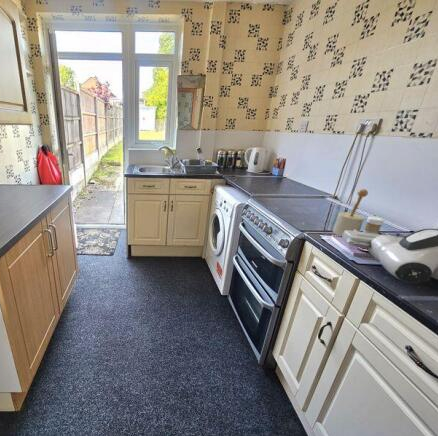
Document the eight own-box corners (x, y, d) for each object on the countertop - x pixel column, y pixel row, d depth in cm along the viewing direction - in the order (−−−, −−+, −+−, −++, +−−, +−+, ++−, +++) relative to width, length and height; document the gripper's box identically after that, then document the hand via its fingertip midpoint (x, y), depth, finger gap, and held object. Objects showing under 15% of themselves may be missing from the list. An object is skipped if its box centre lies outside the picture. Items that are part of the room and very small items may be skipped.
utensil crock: (353, 232, 113) (369, 186, 105) (361, 240, 105) (379, 191, 97) (330, 228, 116) (344, 184, 108) (336, 236, 108) (352, 188, 100)
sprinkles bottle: (371, 250, 97) (384, 218, 92) (370, 253, 94) (383, 221, 89) (357, 246, 100) (368, 215, 95) (355, 249, 97) (367, 218, 92)
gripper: (347, 251, 88) (334, 235, 100) (421, 262, 81) (398, 244, 93) (352, 235, 85) (339, 221, 97) (429, 245, 79) (405, 229, 91)
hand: (369, 233), depth 95 cm, fingers open, 7 cm apart
